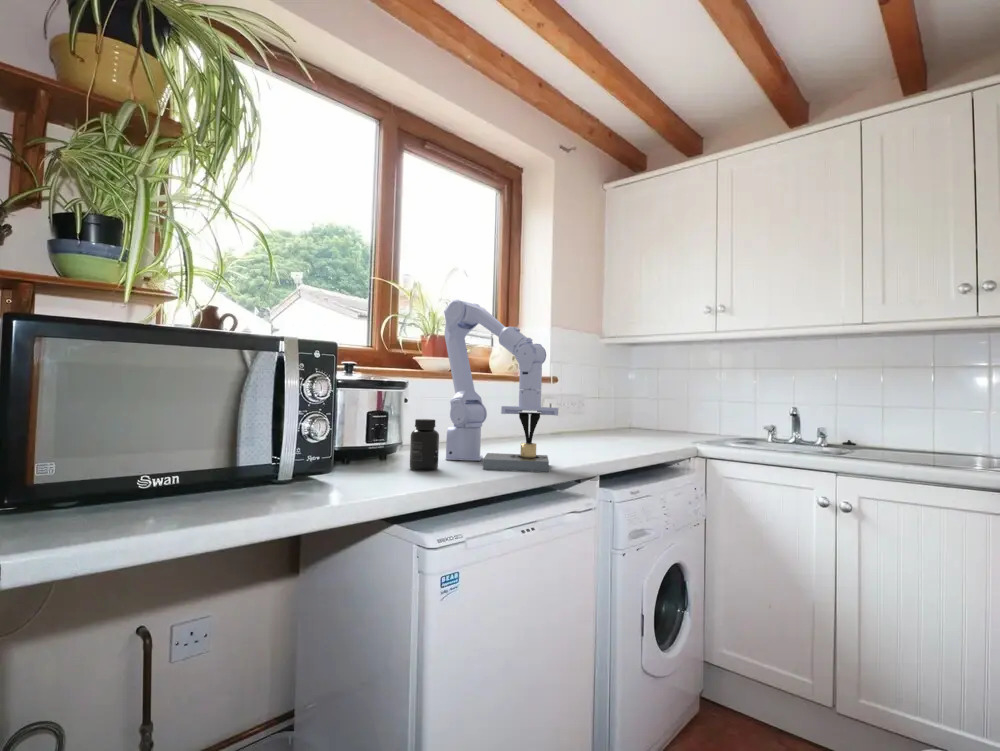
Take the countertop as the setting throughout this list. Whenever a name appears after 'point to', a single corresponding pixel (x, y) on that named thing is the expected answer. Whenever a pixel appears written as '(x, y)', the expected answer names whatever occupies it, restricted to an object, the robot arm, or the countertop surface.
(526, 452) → the bushing
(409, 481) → the countertop surface
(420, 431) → the supplement bottle
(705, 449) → the countertop surface
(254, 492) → the countertop surface
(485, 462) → the jig
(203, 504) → the countertop surface
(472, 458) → the robot arm
